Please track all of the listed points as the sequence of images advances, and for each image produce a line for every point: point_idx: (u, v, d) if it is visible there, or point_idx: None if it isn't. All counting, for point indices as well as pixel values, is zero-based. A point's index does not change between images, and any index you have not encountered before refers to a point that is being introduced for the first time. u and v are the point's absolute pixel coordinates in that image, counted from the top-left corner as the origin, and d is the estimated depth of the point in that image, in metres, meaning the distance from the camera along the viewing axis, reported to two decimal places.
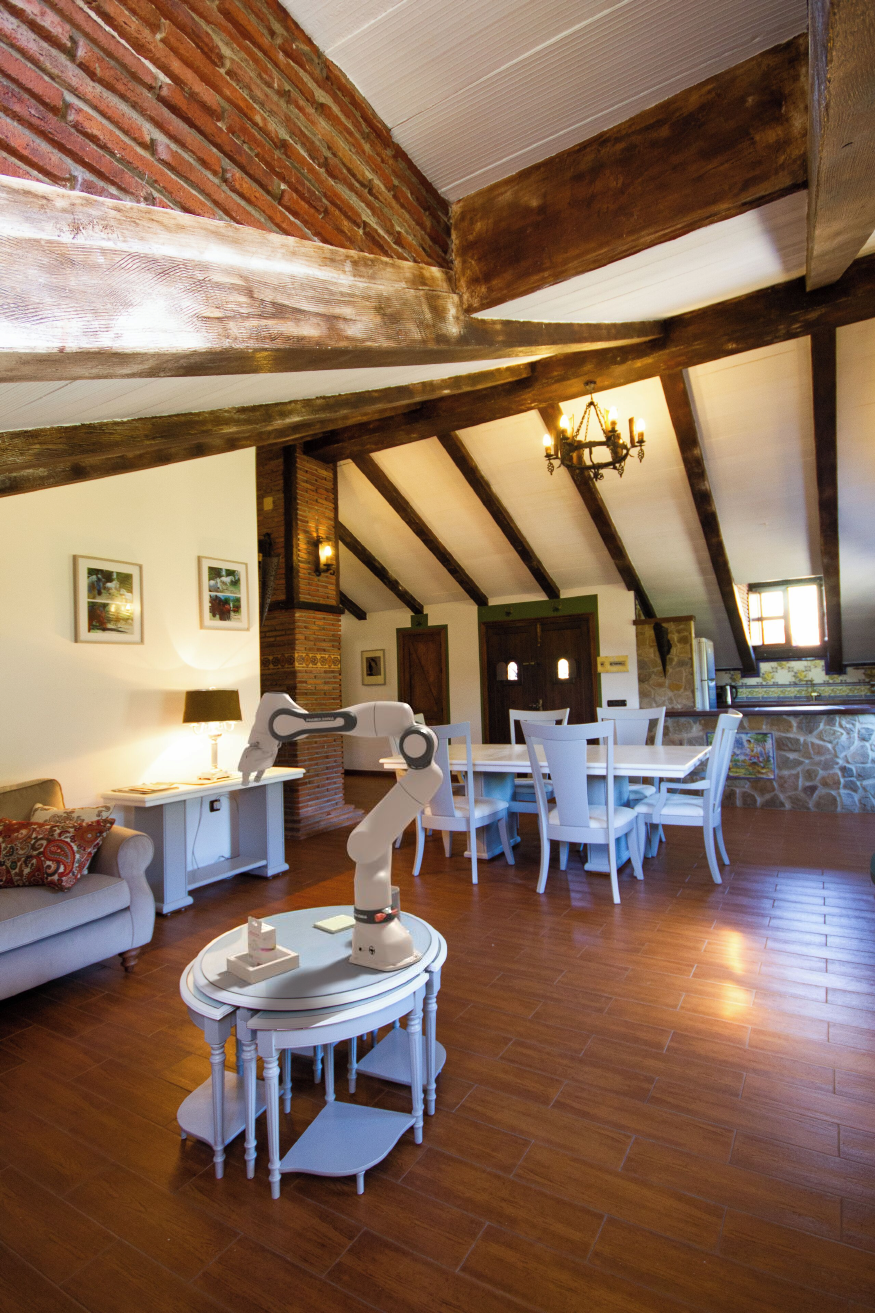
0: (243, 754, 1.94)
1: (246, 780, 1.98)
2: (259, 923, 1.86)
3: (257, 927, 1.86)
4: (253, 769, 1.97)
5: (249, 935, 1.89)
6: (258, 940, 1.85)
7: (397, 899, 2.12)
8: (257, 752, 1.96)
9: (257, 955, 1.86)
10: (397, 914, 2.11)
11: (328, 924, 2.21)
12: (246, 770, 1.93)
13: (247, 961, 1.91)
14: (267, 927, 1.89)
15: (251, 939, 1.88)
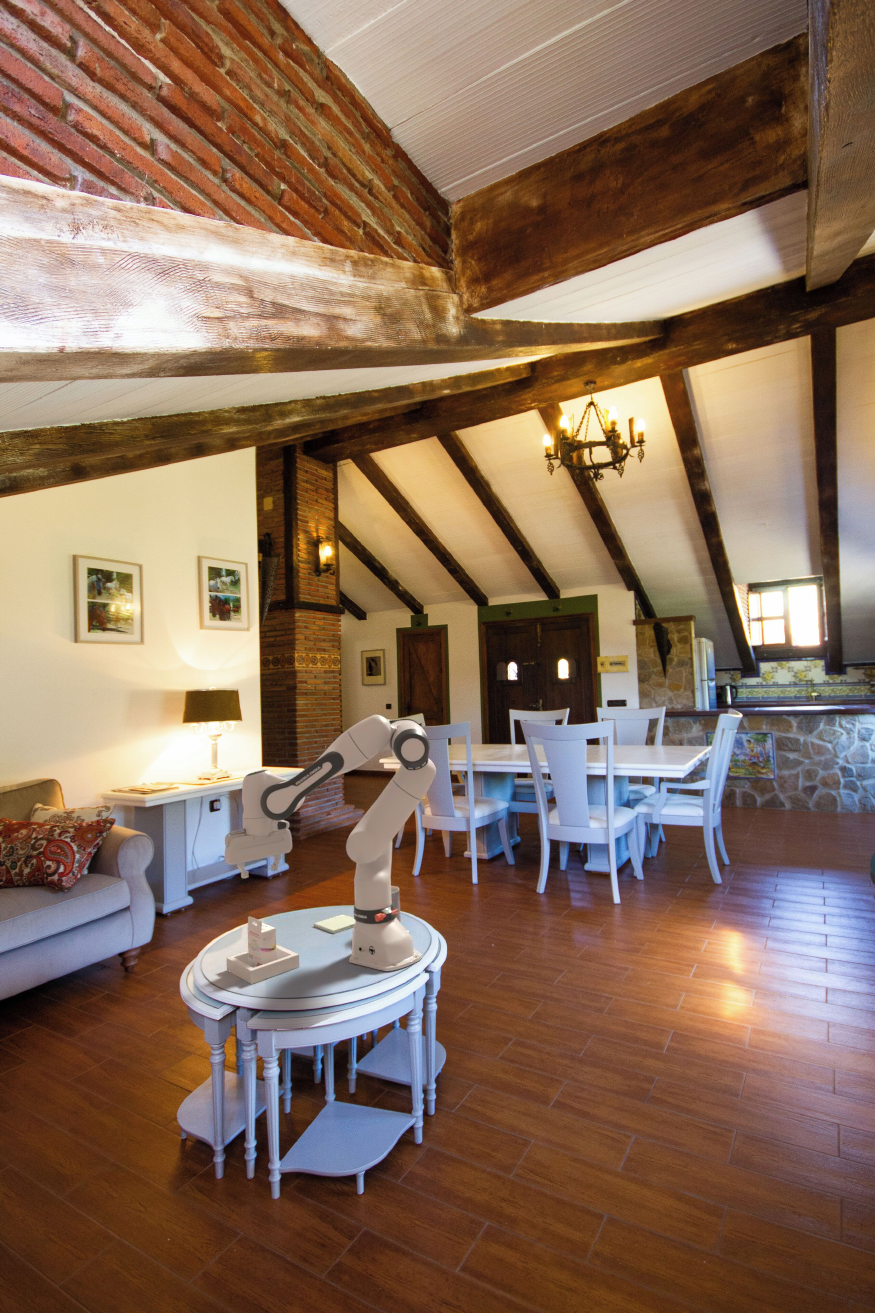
0: None
1: (242, 871, 1.86)
2: (259, 923, 1.86)
3: (257, 927, 1.86)
4: (241, 858, 1.85)
5: (249, 935, 1.89)
6: (258, 940, 1.85)
7: (397, 899, 2.12)
8: (238, 839, 1.85)
9: (258, 955, 1.86)
10: (397, 914, 2.11)
11: (328, 924, 2.21)
12: (229, 861, 1.83)
13: (247, 961, 1.91)
14: (267, 927, 1.89)
15: (251, 939, 1.88)
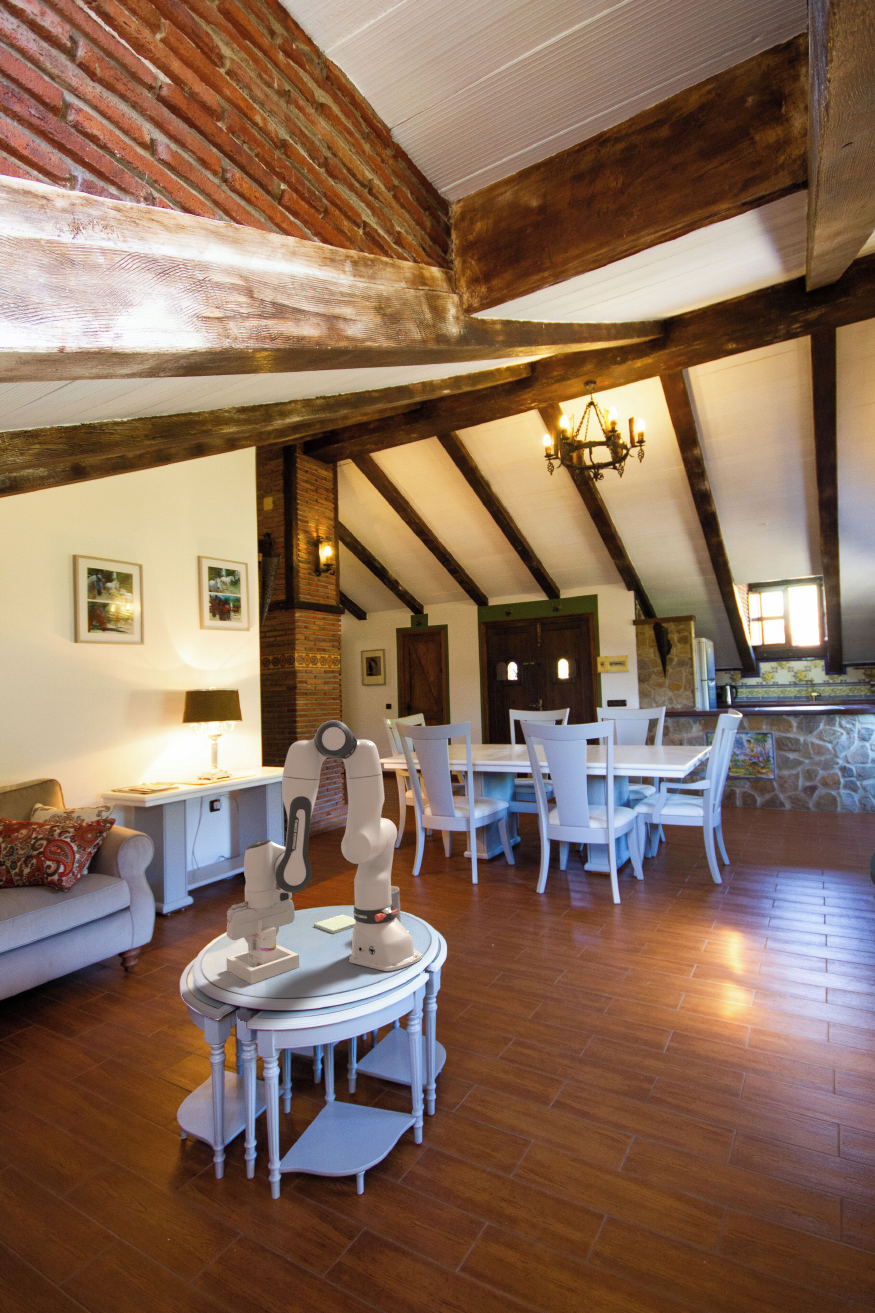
0: None
1: (249, 944, 1.86)
2: (259, 923, 1.86)
3: (257, 927, 1.86)
4: (243, 933, 1.83)
5: None
6: (258, 940, 1.85)
7: (397, 899, 2.12)
8: (241, 914, 1.83)
9: (258, 955, 1.86)
10: (397, 914, 2.11)
11: (328, 924, 2.21)
12: (231, 937, 1.81)
13: (247, 961, 1.91)
14: (267, 927, 1.89)
15: (251, 939, 1.88)
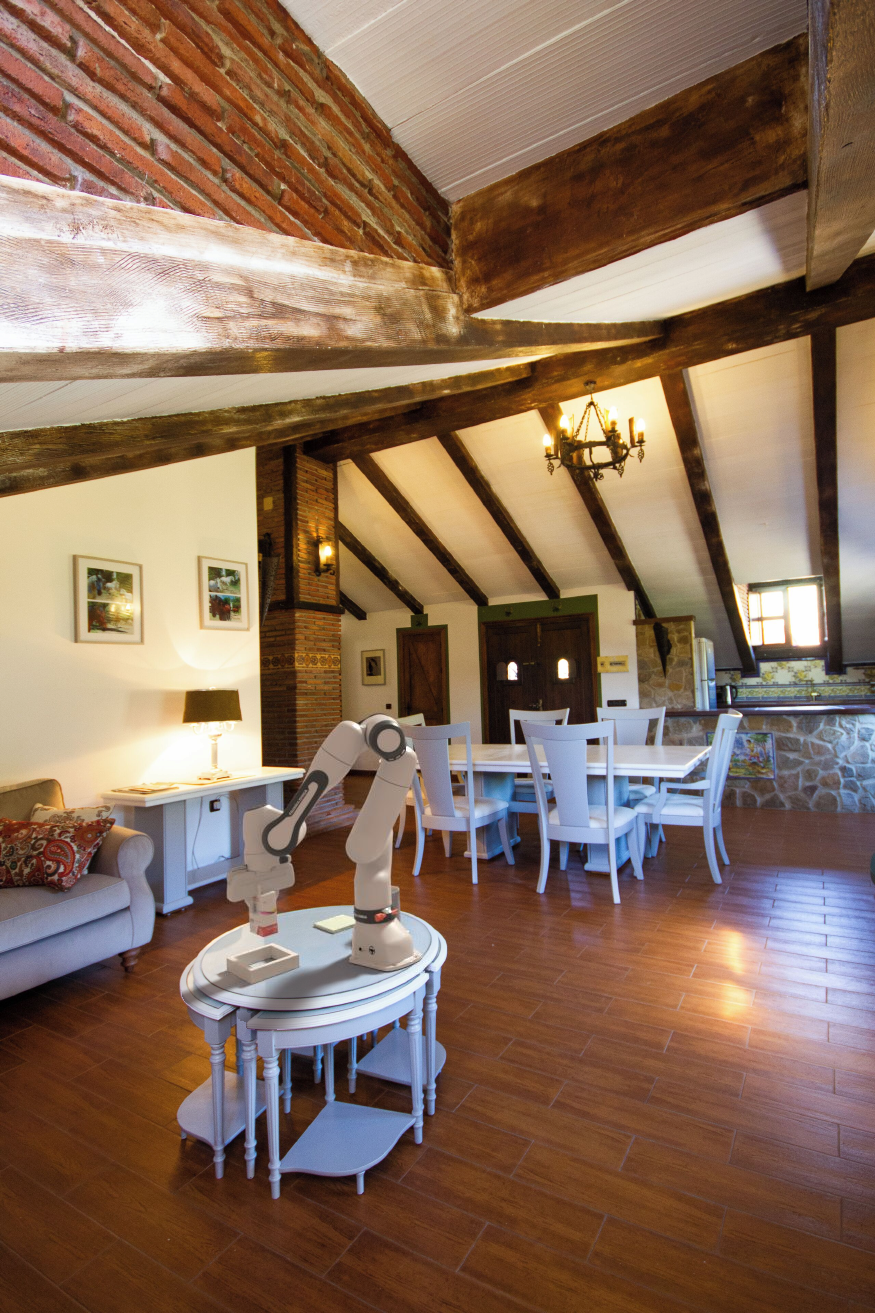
0: None
1: (250, 906, 1.86)
2: (258, 887, 1.86)
3: (257, 891, 1.87)
4: (243, 895, 1.84)
5: None
6: (258, 904, 1.86)
7: (397, 899, 2.12)
8: (240, 876, 1.84)
9: (258, 919, 1.86)
10: (397, 914, 2.11)
11: (328, 924, 2.21)
12: (231, 898, 1.82)
13: (247, 961, 1.91)
14: (267, 891, 1.89)
15: (252, 903, 1.89)
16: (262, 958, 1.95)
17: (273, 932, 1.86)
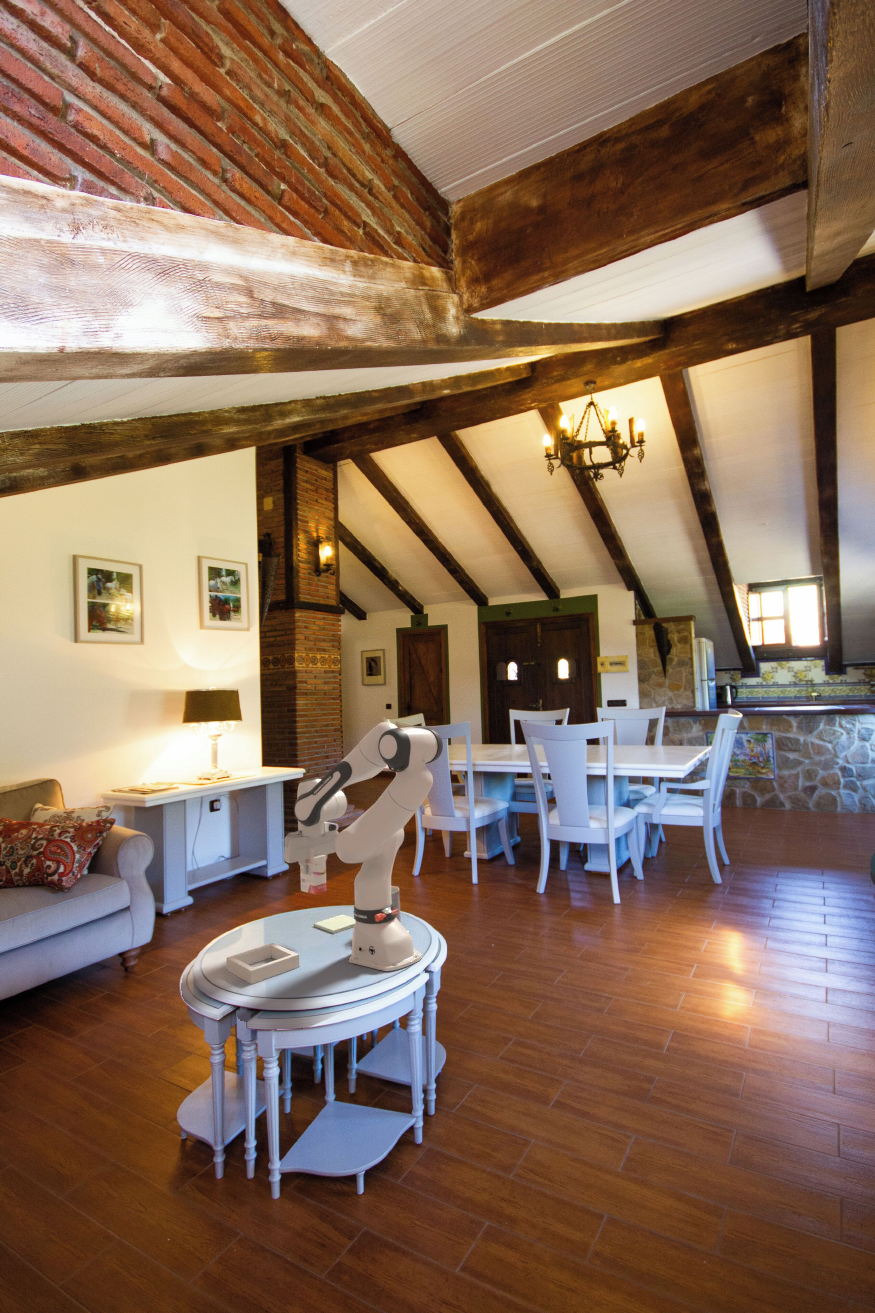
0: (285, 845, 2.08)
1: (303, 867, 2.10)
2: (311, 850, 2.10)
3: None
4: (299, 857, 2.08)
5: None
6: (311, 865, 2.10)
7: (397, 899, 2.12)
8: (296, 840, 2.08)
9: (310, 878, 2.10)
10: (397, 914, 2.11)
11: (328, 924, 2.21)
12: (288, 859, 2.06)
13: (247, 961, 1.91)
14: None
15: None
16: (262, 958, 1.95)
17: (323, 891, 2.11)
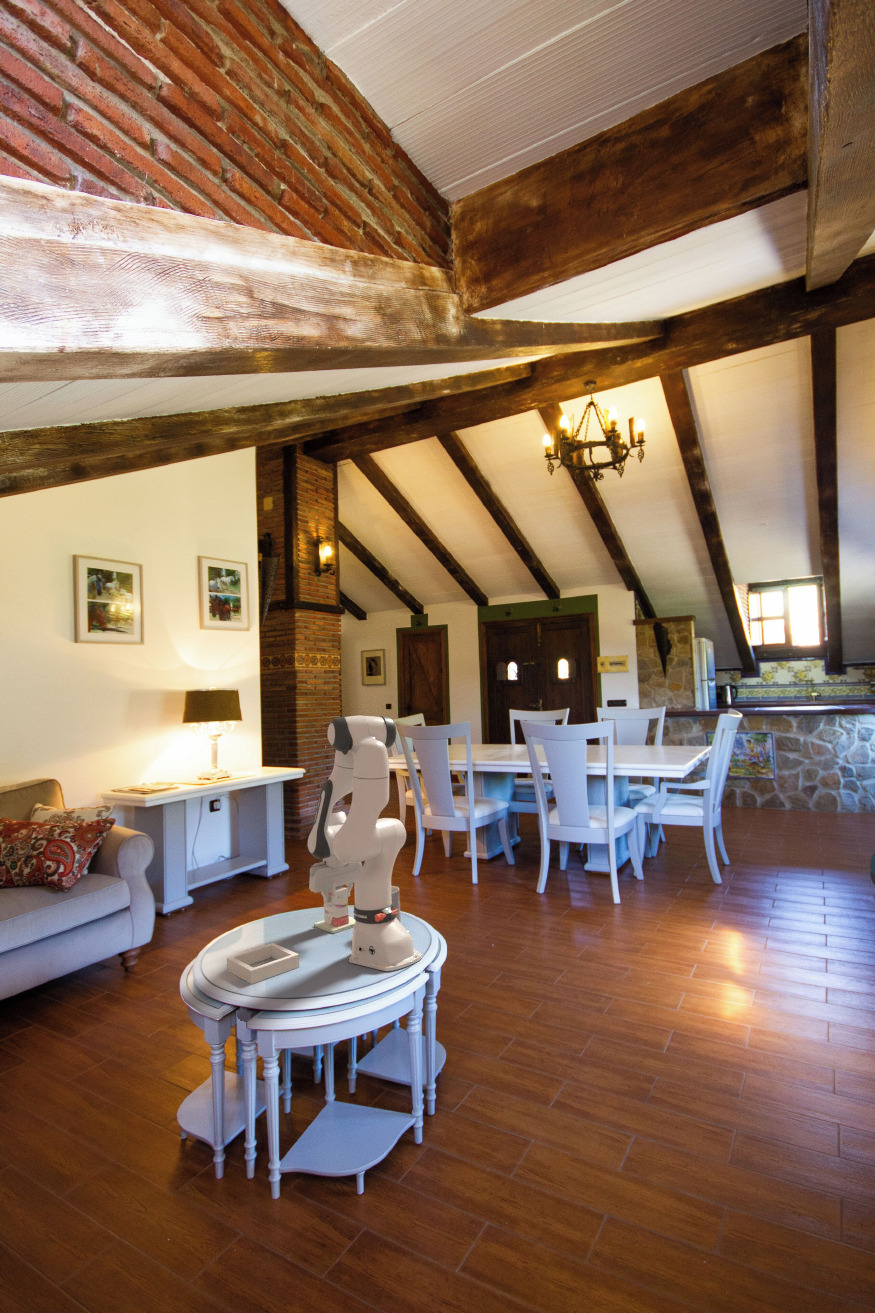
0: None
1: (325, 897, 2.20)
2: (333, 884, 2.20)
3: (332, 887, 2.21)
4: (323, 887, 2.18)
5: None
6: (333, 898, 2.20)
7: (397, 899, 2.12)
8: (321, 871, 2.18)
9: (332, 911, 2.20)
10: (397, 914, 2.11)
11: (328, 924, 2.21)
12: (313, 889, 2.16)
13: (247, 961, 1.91)
14: (340, 887, 2.23)
15: None
16: (262, 958, 1.95)
17: (345, 922, 2.20)
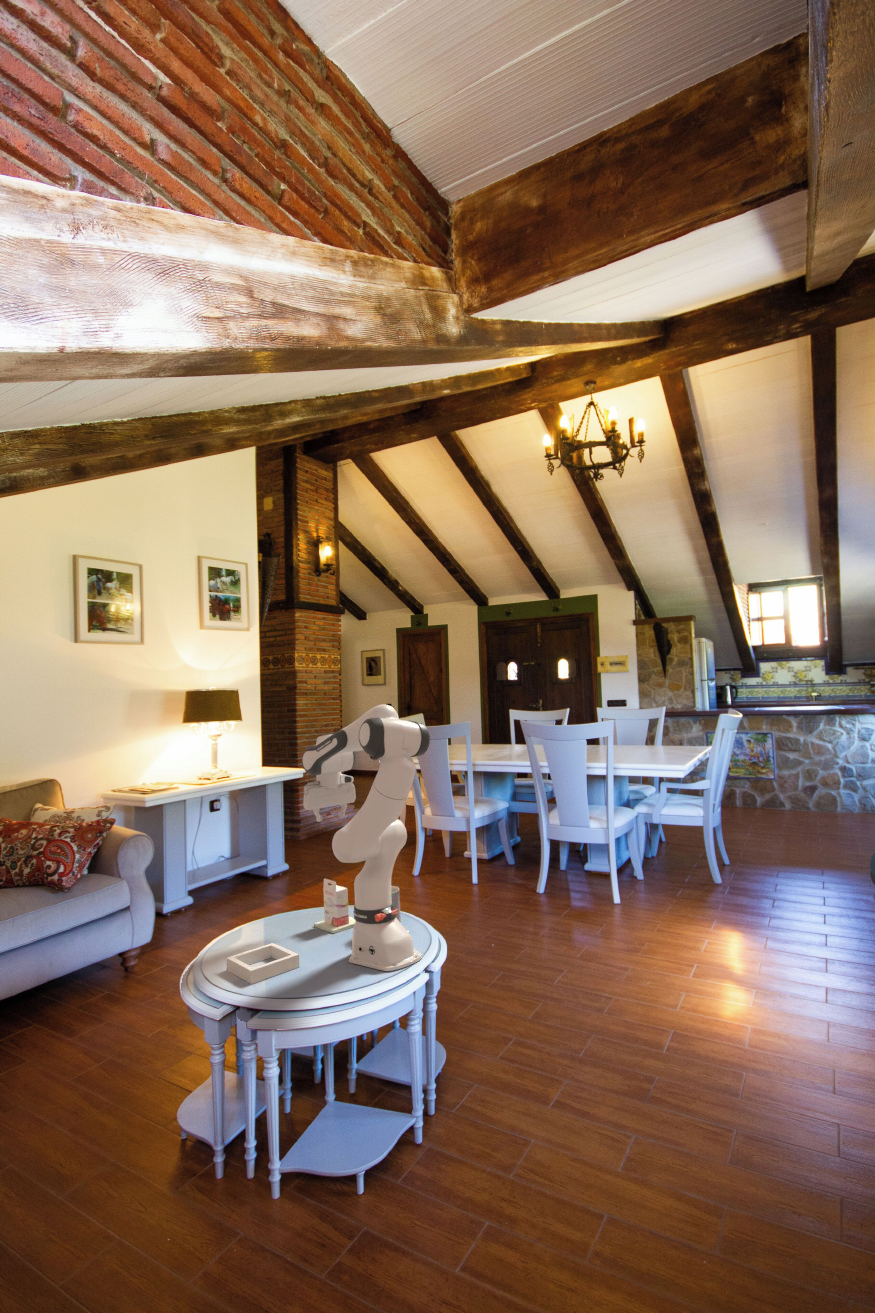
0: (304, 793, 2.26)
1: (317, 816, 2.27)
2: (334, 884, 2.20)
3: (332, 887, 2.21)
4: (317, 805, 2.26)
5: (325, 894, 2.24)
6: (333, 898, 2.20)
7: (397, 899, 2.12)
8: (315, 789, 2.26)
9: (333, 911, 2.20)
10: (397, 914, 2.11)
11: (328, 924, 2.21)
12: (307, 807, 2.24)
13: (247, 961, 1.91)
14: (340, 887, 2.23)
15: (327, 898, 2.23)
16: (262, 958, 1.95)
17: (345, 922, 2.20)
